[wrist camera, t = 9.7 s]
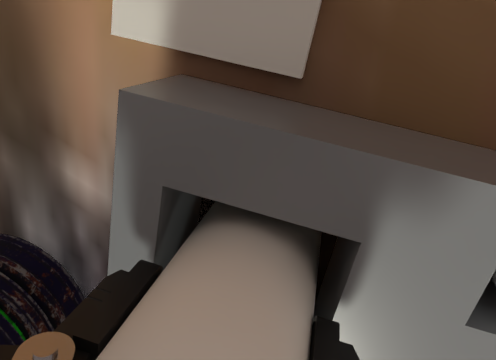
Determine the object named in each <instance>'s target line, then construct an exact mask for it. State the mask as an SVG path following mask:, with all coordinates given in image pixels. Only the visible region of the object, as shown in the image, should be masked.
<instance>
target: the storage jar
mask: <svg viewBox="0 0 496 360" xmlns="http://www.w3.org/2000/svg"><path fill="white" fill-rule="evenodd" d="M83 300H84V297H83V295H82V293H81V291H80V289H79V288H78V286H77V284H76V283H75V281H74V280H73V279H72V277H71V276H70V275H69V273H68V272H67V271H66V270H65V269H64V268H63V267H62V266H61V265H60V264H59V263H58V262H57V261H56V260H55V259H54V258H53V257H52V256H50V255H49V254H47V253H46V252H45V251H43V250H42V249H40V248H39V247H37V246H35V245H33V244H32V243H30V242H28V241H25V240H23V239H20V238H18V237H14V236H10V235H6V234H0V345H21V344H22V343H23V342H24V341H26V340H27V339H29V338H30V337H32V336H34V335H37V334H40V333H44V332H53V331H54V330H55V329H56V328H57V327H58V326H59V325H60V324H61V323H62V322H63V321H64V320H65V319H66V318H67V317H68V316H69V315H70V314H71V312H72V311H73V310H74V309H75V308H76V307H77V306H78V305H79V304H80V303H81V302H82V301H83Z"/></svg>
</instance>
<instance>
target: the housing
mask: <svg viewBox="0 0 496 360" xmlns="http://www.w3.org/2000/svg"><path fill="white" fill-rule="evenodd" d="M202 197H203V198H207V199H210V200H214V201H217V202H221V203H224V204H228V205H231V206H235V207H238V208H242V209H245V210H249V211H252V212H256V213H259V214H262V215H266V216H269V217H273V218H276V219H280V220H283V221H287V222H290V223H294V224H297V225H301V226H304V227H308V228H311V229H315V230H318V231H322V232H325V233H329V234H332V235H336V236H338V238H337V240H336V243H335V246H334V249H333V252H332V255H331V258H330V261H329V264H328V267H327V270H326V273H325V276H324V279H323V282H322V285H321V288H320V291H319V294H318V296H317V299H316V302H315V306H314V317H313V321H314V319H315V316H316V315H317V316H320V317H323V318H326V319H329V320H332V321H336V322H339V324H340V341H342V342H345V343H348V344H351V345H353V347H354V349H355V351H356V353H357V355H358V357H359V359H360V360H496V286H495V284H494V283H493V281H492V280H491V277H492V276H493V274H494V272H495V270H496V150H491V149H487V148H483V147H479V146H475V145H471V144H467V143H463V142H459V141H454V140H450V139H446V138H442V137H438V136H434V135H430V134H426V133H422V132H417V131H413V130H409V129H405V128H401V127H397V126H393V125H389V124H385V123H380V122H376V121H372V120H368V119H364V118H360V117H356V116H352V115H347V114H343V113H339V112H335V111H331V110H327V109H323V108H319V107H315V106H310V105H306V104H302V103H298V102H294V101H290V100H286V99H282V98H278V97H273V96H269V95H265V94H261V93H257V92H253V91H249V90H245V89H241V88H236V87H232V86H228V85H224V84H220V83H216V82H212V81H208V80H204V79H199V78H195V77H191V76H187V75H183V74H181V75H177V76H173V77H168V78H164V79H160V80H156V81H152V82H148V83H144V84H140V85H136V86H131V87H127V88H123V89H119V98H118V114H117V130H116V146H115V162H114V178H113V194H112V210H111V226H110V242H109V258H108V274H107V276H109V275H111V274H113V273H115V272H117V271H119V270H124V271H127V272H129V271H130V270H131V269H132V268H133V267H134V266H135V265H136V264H137V262H138V261H140V260H145V261H148V262H151V263H155V264H158V265H161V266H162V267H163V270H164V269H165V267H166V266H167V265H168V263H169V262H170V261H171V259H172V258H173V257H174V255H175V254H176V253H177V251H178V250H179V249H180V247H181V246H182V245H183V244H184V242H185V241H186V240H187V238H188V237H189V236H190V234H191V233H192V232H193V230H194V229H195V228H196V226H197V225H198V219H199V213H200V207H201V201H202Z"/></svg>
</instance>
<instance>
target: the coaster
mask: <svg viewBox="0 0 496 360" xmlns="http://www.w3.org/2000/svg"><path fill="white" fill-rule="evenodd" d="M321 2H322V0H113V7H112V27H111V34H112V35H116V36H120V37H125V38H129V39H133V40H137V41H142V42H146V43H150V44H154V45H159V46H163V47H167V48H171V49H176V50H180V51H184V52H189V53H193V54H197V55H201V56H206V57H210V58H214V59H218V60H223V61H227V62H231V63H235V64H240V65H244V66H248V67H253V68H257V69H261V70H265V71H270V72H274V73H278V74H282V75H287V76H291V77H295V78H299V79H302V78H303V75H304V71H305V67H306V63H307V59H308V55H309V51H310V47H311V43H312V39H313V35H314V31H315V27H316V23H317V19H318V15H319V10H320V6H321Z"/></svg>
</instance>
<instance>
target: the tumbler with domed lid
mask: <svg viewBox="0 0 496 360" xmlns="http://www.w3.org/2000/svg"><path fill="white" fill-rule="evenodd" d="M321 235H322V231H318V230H315V229H311V228H308V227H304V226H301V225H297V224H294V223H290V222H287V221H283V220H280V219H276V218H273V217H269V216H266V215H262V214H259V213H256V212H252V211H249V210H245V209H242V208H238V207H235V206H231V205H228V204H224V203H221V202H217V201H215V203H214V204H213V205H212V206H211V208H210V209H209V210H208V212H207V213H206V214H205V216H204V217H203V218H202V220H201V221H200V222H199V224H198V225H197V226H196V228H195V229H194V230H193V232H192V233H191V234H190V236H189V237H188V238H187V240H186V241H185V242H184V244H183V245H182V246H181V247H180V249H179V250H178V251H177V253H176V254H175V255H174V257H173V258H172V259H171V261H170V262H169V263H168V265H167V266H166V267H165V269H164V270H163V271H162V273H161V274H160V275H159V277H158V278H157V279H156V281H155V282H154V283H153V285H152V286H151V287H150V288H149V290H148V291H147V292H146V294H145V295H144V296H143V298H142V299H141V300H140V302H139V303H138V304H137V306H136V307H135V308H134V310H133V311H132V312H131V314H130V315H129V316H128V318H127V319H126V320H125V322H124V323H123V324H122V326H121V327H120V328H119V329H118V331H117V332H116V333H115V335H114V336H113V337H112V339H111V340H110V341H109V343H108V344H107V345H106V347H105V348H104V349H103V351H102V352H101V353H100V355H99V356H98V357H97V359H96V360H309V356H310V346H311V336H312V326H313V317H314V306H315V296H316V286H317V276H318V266H319V256H320V246H321Z"/></svg>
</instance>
